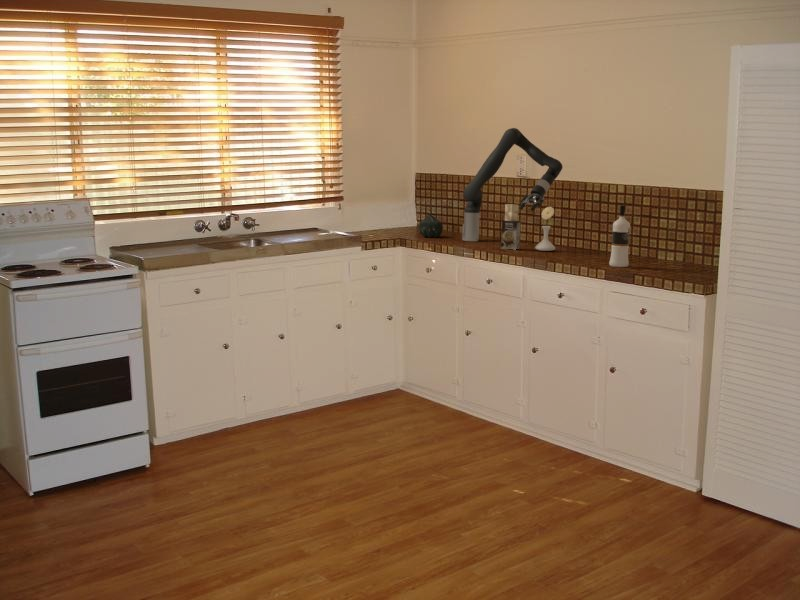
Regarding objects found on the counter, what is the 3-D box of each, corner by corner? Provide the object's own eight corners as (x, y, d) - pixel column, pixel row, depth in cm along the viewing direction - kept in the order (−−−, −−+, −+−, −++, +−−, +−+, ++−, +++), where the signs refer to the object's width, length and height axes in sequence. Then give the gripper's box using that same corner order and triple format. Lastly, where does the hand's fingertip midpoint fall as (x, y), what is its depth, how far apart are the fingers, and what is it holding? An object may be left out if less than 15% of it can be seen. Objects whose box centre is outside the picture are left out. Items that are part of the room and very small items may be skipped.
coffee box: (500, 249, 499) (501, 220, 496) (504, 248, 504) (505, 219, 502) (515, 250, 494) (516, 221, 492) (519, 249, 500) (521, 220, 497)
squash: (440, 227, 566) (427, 209, 560) (450, 230, 552) (436, 212, 546) (424, 242, 564) (410, 224, 558) (433, 245, 550) (419, 227, 545)
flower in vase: (531, 249, 499) (533, 205, 495) (548, 249, 503) (551, 205, 499) (542, 252, 487) (544, 207, 483) (560, 252, 491) (563, 207, 487)
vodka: (612, 264, 442) (616, 204, 437) (631, 266, 437) (635, 205, 432) (606, 266, 434) (610, 204, 429) (624, 268, 429) (629, 206, 424)
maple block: (504, 220, 497) (505, 204, 496) (510, 220, 500) (511, 204, 499) (511, 221, 493) (511, 204, 492) (517, 220, 496) (518, 204, 495)
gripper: (528, 183, 512) (513, 204, 506) (547, 185, 501) (532, 205, 496) (534, 193, 516) (519, 213, 511) (552, 194, 505) (538, 215, 500)
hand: (525, 209), depth 503 cm, fingers open, 8 cm apart
